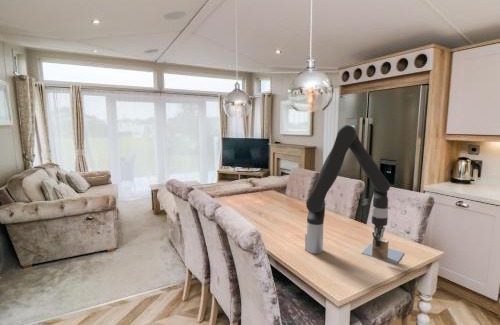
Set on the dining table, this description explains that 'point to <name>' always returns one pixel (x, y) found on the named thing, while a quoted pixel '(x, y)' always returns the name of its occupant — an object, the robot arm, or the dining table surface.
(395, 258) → the mat
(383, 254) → the slab
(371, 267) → the dining table surface
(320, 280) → the dining table surface
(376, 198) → the robot arm
